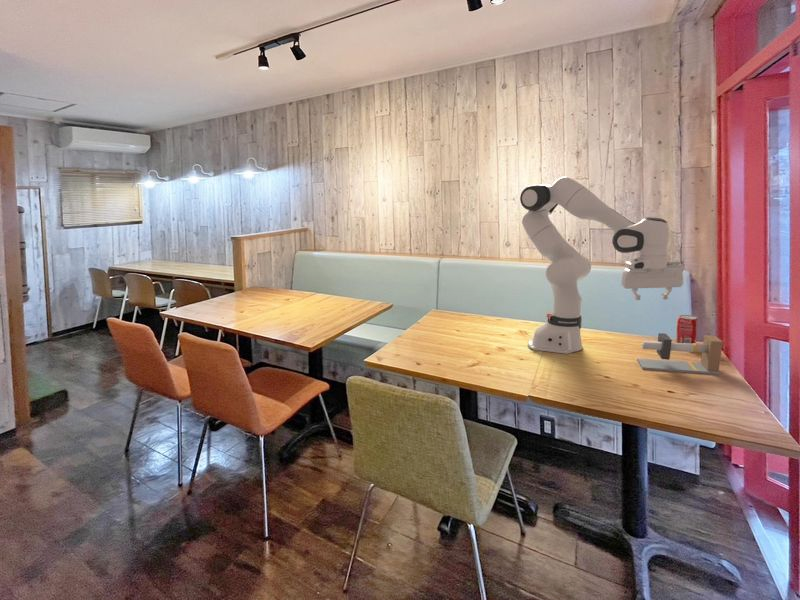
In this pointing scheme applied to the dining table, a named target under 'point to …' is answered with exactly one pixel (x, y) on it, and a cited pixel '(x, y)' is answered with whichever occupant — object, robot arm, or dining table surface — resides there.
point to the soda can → (686, 329)
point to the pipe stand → (707, 366)
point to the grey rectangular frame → (664, 346)
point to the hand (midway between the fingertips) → (650, 299)
